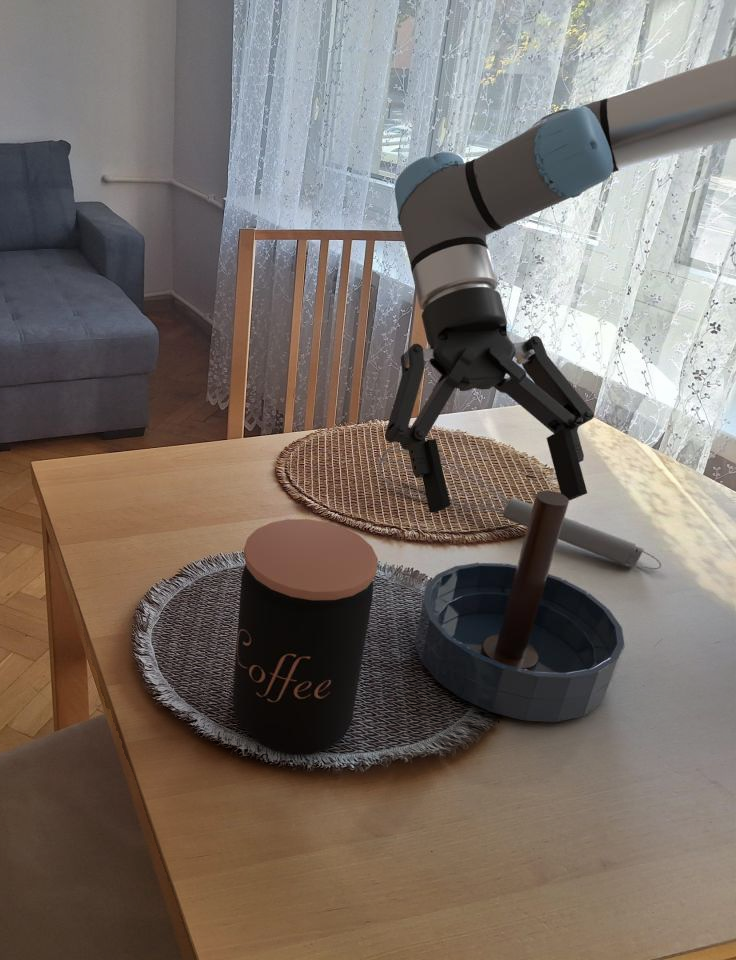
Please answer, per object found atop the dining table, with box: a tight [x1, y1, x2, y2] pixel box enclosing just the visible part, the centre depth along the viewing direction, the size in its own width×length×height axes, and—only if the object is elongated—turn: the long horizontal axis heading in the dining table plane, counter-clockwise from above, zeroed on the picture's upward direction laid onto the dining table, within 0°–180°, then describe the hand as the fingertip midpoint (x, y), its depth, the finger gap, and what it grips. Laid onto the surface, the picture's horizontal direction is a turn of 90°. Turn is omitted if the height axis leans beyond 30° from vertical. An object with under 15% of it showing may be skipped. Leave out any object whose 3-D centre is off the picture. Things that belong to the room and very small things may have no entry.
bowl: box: [414, 562, 626, 723], centre depth 83 cm, size 17×17×6 cm
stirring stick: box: [481, 490, 570, 671], centre depth 79 cm, size 5×5×18 cm
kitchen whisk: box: [376, 444, 662, 570], centre depth 105 cm, size 6×34×6 cm, turn 48°
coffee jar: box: [232, 518, 379, 756], centre depth 74 cm, size 11×11×18 cm
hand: (508, 503), depth 81 cm, fingers open, 13 cm apart
